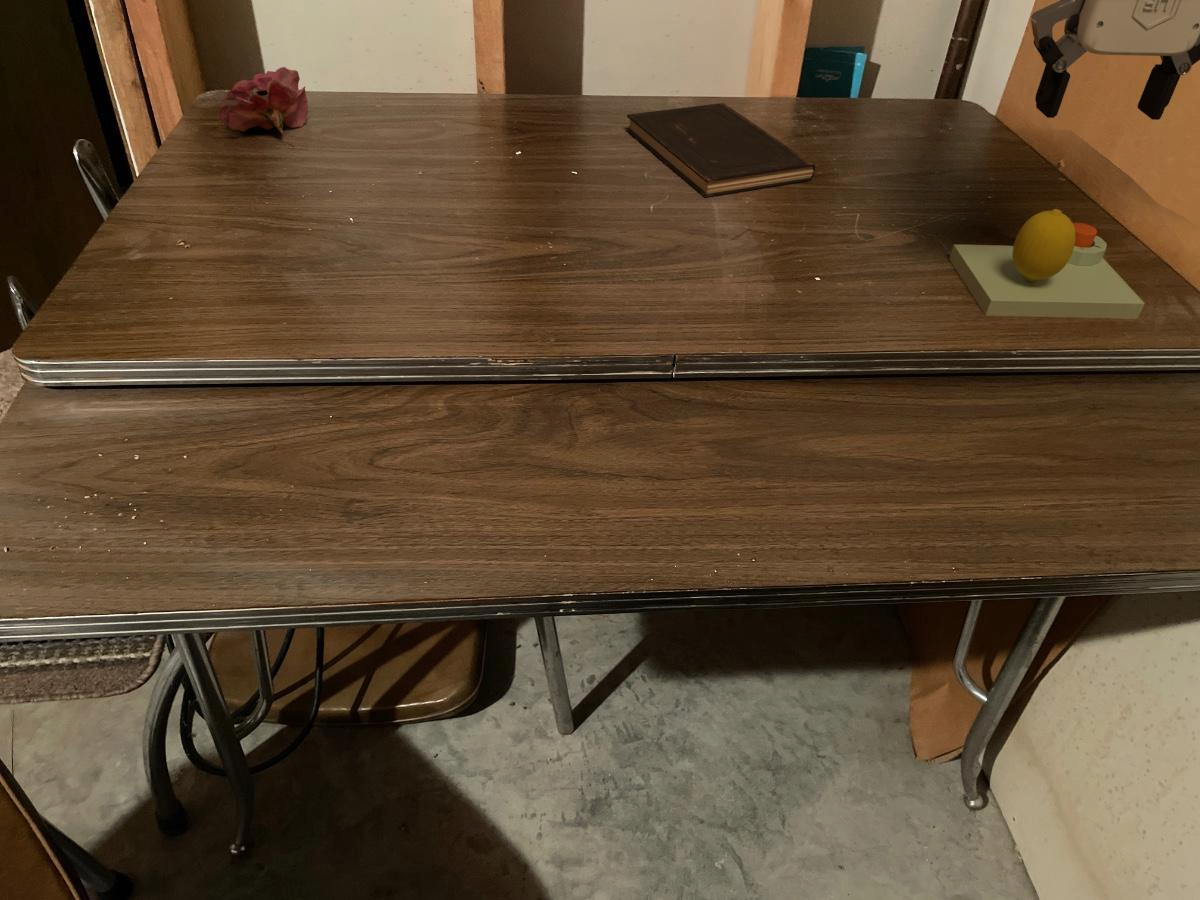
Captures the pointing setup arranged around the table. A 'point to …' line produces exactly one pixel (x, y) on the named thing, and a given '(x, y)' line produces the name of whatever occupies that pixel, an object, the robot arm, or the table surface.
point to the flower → (266, 102)
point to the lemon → (1044, 245)
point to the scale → (1045, 284)
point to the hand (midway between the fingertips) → (1096, 113)
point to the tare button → (1084, 235)
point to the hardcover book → (718, 149)
